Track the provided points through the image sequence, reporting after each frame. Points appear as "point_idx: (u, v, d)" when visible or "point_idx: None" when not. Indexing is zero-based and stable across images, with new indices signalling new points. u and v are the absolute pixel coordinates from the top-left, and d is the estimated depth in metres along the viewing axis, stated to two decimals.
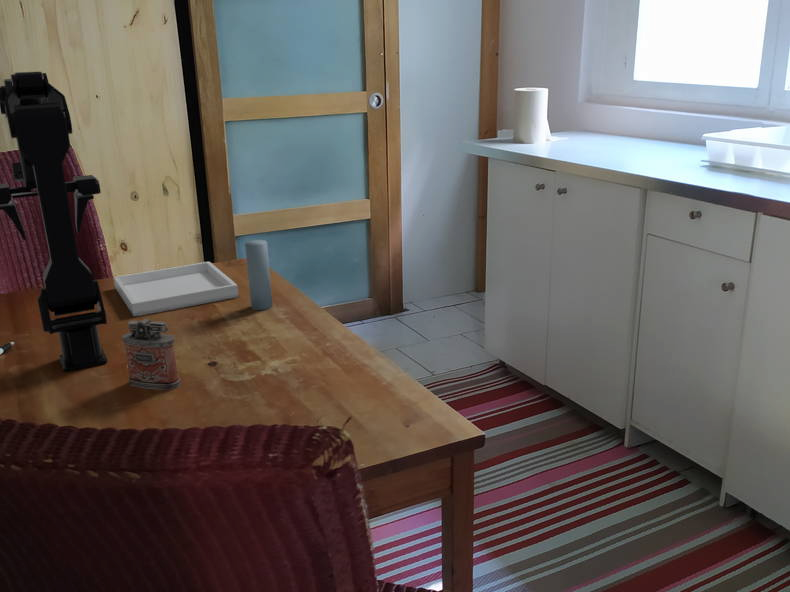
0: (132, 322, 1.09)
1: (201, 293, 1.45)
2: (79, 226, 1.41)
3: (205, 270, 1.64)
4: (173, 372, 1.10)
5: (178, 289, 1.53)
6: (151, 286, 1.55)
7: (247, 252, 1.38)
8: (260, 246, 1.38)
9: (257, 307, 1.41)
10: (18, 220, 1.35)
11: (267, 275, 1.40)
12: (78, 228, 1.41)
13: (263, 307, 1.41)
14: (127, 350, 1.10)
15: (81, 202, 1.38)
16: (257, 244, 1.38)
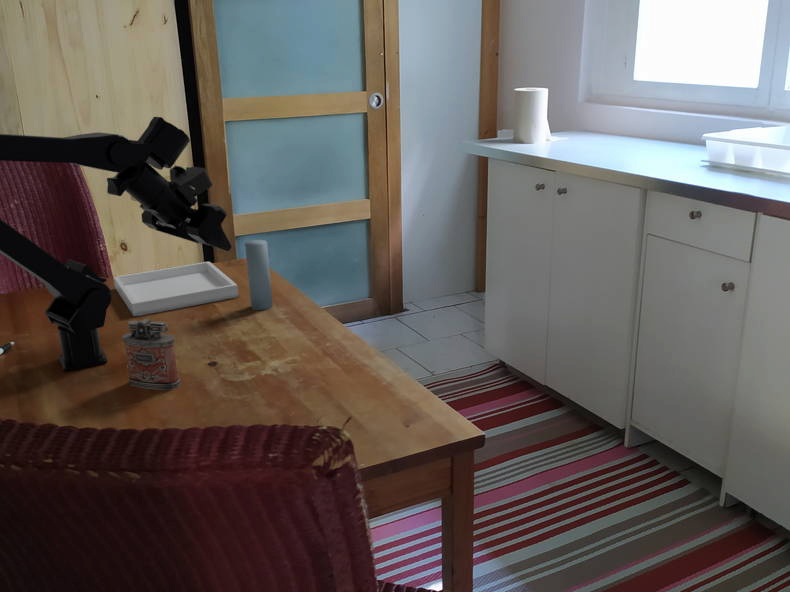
0: (132, 322, 1.09)
1: (201, 293, 1.45)
2: (222, 249, 1.31)
3: (205, 270, 1.64)
4: (173, 372, 1.10)
5: (178, 289, 1.53)
6: (151, 286, 1.55)
7: (247, 252, 1.38)
8: (260, 246, 1.38)
9: (257, 307, 1.41)
10: (177, 236, 1.35)
11: (267, 275, 1.40)
12: (223, 249, 1.31)
13: (263, 307, 1.41)
14: (127, 350, 1.10)
15: None
16: (257, 244, 1.38)
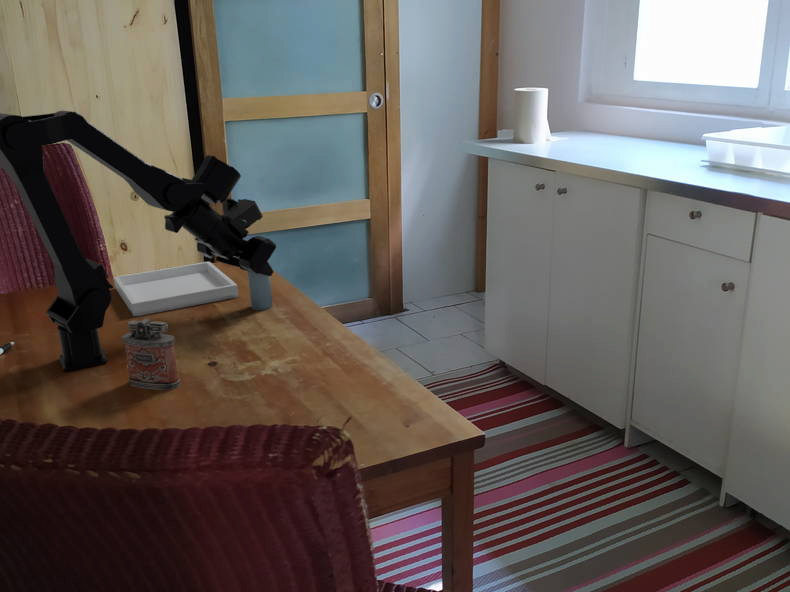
0: (132, 322, 1.09)
1: (201, 293, 1.45)
2: None
3: (205, 270, 1.64)
4: (173, 372, 1.10)
5: (178, 289, 1.53)
6: (151, 286, 1.55)
7: None
8: None
9: (257, 307, 1.41)
10: (237, 266, 1.41)
11: None
12: None
13: (263, 307, 1.41)
14: (127, 350, 1.10)
15: None
16: None
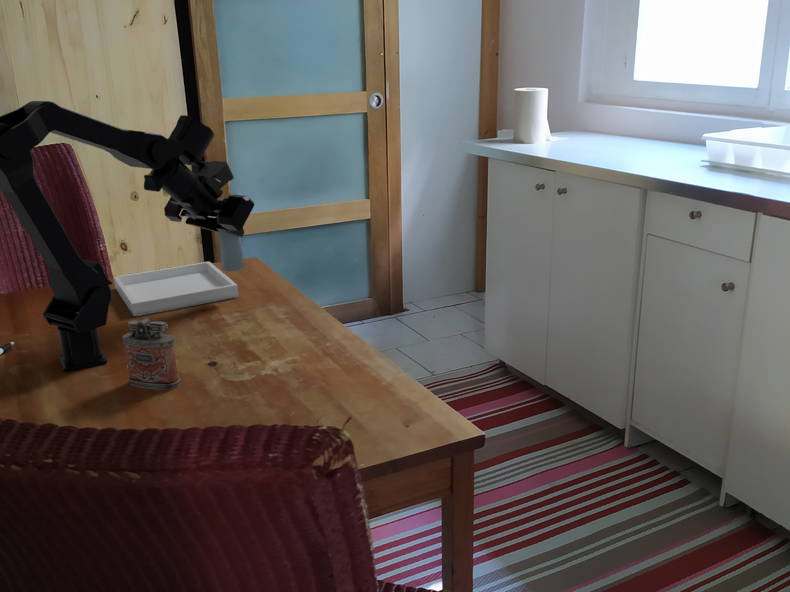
0: (132, 322, 1.09)
1: (201, 293, 1.45)
2: (237, 235, 1.42)
3: (205, 270, 1.64)
4: (173, 372, 1.10)
5: (178, 289, 1.53)
6: (151, 286, 1.55)
7: None
8: None
9: (230, 268, 1.43)
10: (207, 229, 1.42)
11: (239, 236, 1.43)
12: (238, 235, 1.42)
13: (236, 268, 1.43)
14: (127, 350, 1.10)
15: None
16: None
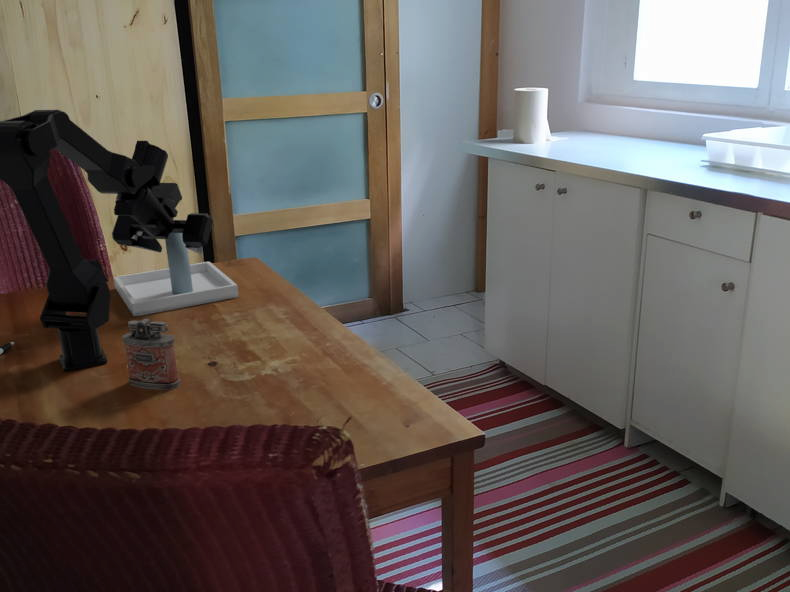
0: (132, 322, 1.09)
1: (201, 293, 1.45)
2: (198, 252, 1.48)
3: (205, 270, 1.64)
4: (173, 372, 1.10)
5: None
6: (151, 286, 1.55)
7: (170, 240, 1.46)
8: None
9: (183, 292, 1.50)
10: (147, 248, 1.47)
11: (188, 260, 1.49)
12: None
13: (188, 291, 1.50)
14: (127, 350, 1.10)
15: (190, 248, 1.42)
16: None
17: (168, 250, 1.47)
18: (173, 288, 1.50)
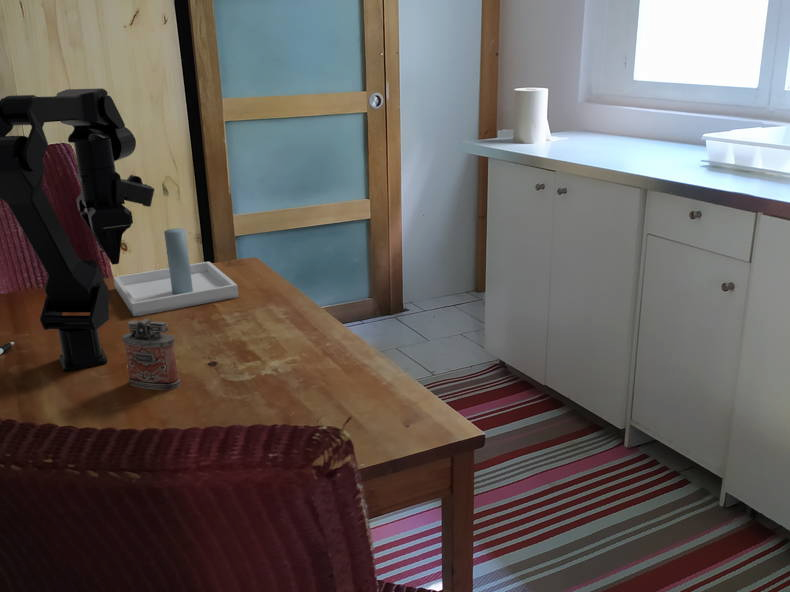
0: (132, 322, 1.09)
1: (201, 293, 1.45)
2: (108, 257, 1.25)
3: (205, 270, 1.64)
4: (173, 372, 1.10)
5: None
6: (151, 286, 1.55)
7: (170, 240, 1.46)
8: (183, 233, 1.47)
9: (183, 292, 1.49)
10: (90, 230, 1.32)
11: None
12: (109, 259, 1.26)
13: (188, 291, 1.50)
14: (127, 350, 1.10)
15: (93, 232, 1.22)
16: (179, 231, 1.47)
17: (168, 250, 1.47)
18: (173, 288, 1.50)
